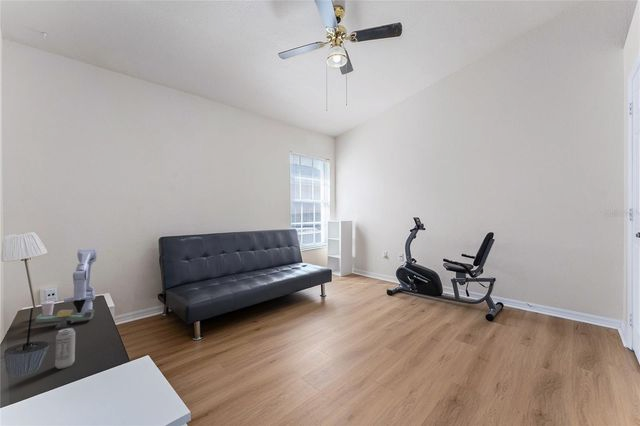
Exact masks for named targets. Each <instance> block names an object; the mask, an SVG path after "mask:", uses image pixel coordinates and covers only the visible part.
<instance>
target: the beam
mask: <svg viewBox="0 0 640 426" xmlns="http://www.w3.org/2000/svg"><path fill="white" fill-rule="evenodd" d="M94 314H95V308H92V309H88V310H87V311H86V312H85V314H77V313H73V315H72V316H71V317H67V318H57V314H52V315H43V313H40V314H38V315H37V316H35V317H34V318H35V319H34V323H46V322H60V319H65V321H68V320H75V321H85V320H91V319H92V318H93V317H94Z"/></svg>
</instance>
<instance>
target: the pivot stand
mask: <svg viewBox="0 0 640 426" xmlns="http://www.w3.org/2000/svg"><path fill="white" fill-rule="evenodd" d="M75 322H76V320H68V321H65V319H60V321H59V323H58V324H56V326H55V327H54V329H55V330H56V329H57V330H58V329H65V328H70V326H71V325H72V324H73V323H75Z"/></svg>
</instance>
